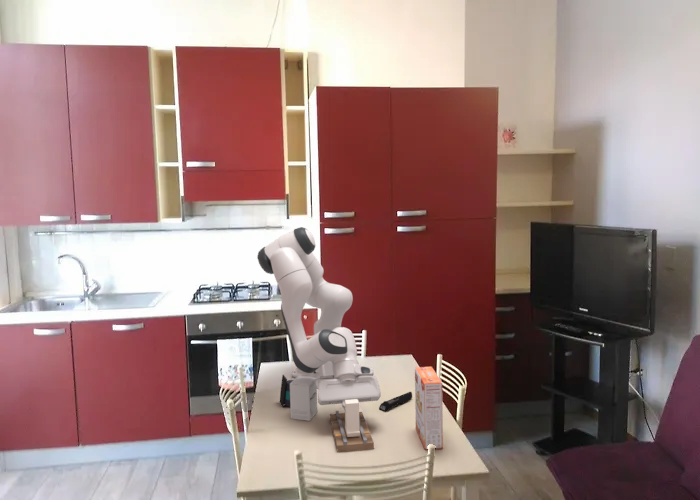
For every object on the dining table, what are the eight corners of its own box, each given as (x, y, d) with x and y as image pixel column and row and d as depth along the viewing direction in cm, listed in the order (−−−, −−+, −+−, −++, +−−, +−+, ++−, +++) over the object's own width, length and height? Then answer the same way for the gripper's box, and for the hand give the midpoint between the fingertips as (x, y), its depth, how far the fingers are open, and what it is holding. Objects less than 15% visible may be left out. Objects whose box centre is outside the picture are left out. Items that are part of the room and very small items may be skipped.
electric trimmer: (415, 401, 194) (415, 392, 194) (385, 413, 184) (385, 404, 183) (407, 398, 197) (407, 389, 197) (378, 410, 187) (378, 401, 186)
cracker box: (414, 428, 171) (414, 366, 169) (432, 427, 172) (432, 365, 169) (423, 450, 157) (423, 382, 155) (443, 449, 158) (443, 381, 155)
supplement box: (310, 421, 178) (309, 385, 177) (290, 418, 180) (288, 383, 179) (318, 412, 185) (317, 377, 184) (298, 409, 187) (297, 375, 186)
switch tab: (344, 429, 166) (344, 398, 165) (357, 428, 167) (357, 397, 166) (347, 437, 161) (346, 405, 160) (360, 436, 162) (359, 404, 161)
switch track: (329, 419, 179) (329, 411, 179) (361, 417, 180) (361, 408, 180) (337, 452, 157) (337, 442, 157) (373, 448, 159) (373, 439, 158)
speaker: (277, 407, 189) (279, 379, 188) (279, 401, 195) (281, 374, 194) (298, 409, 189) (300, 381, 188) (300, 403, 195) (302, 376, 194)
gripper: (315, 372, 171) (318, 414, 163) (377, 368, 174) (384, 408, 165) (314, 380, 176) (318, 421, 168) (375, 376, 179) (381, 416, 170)
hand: (351, 415), depth 166 cm, fingers closed
